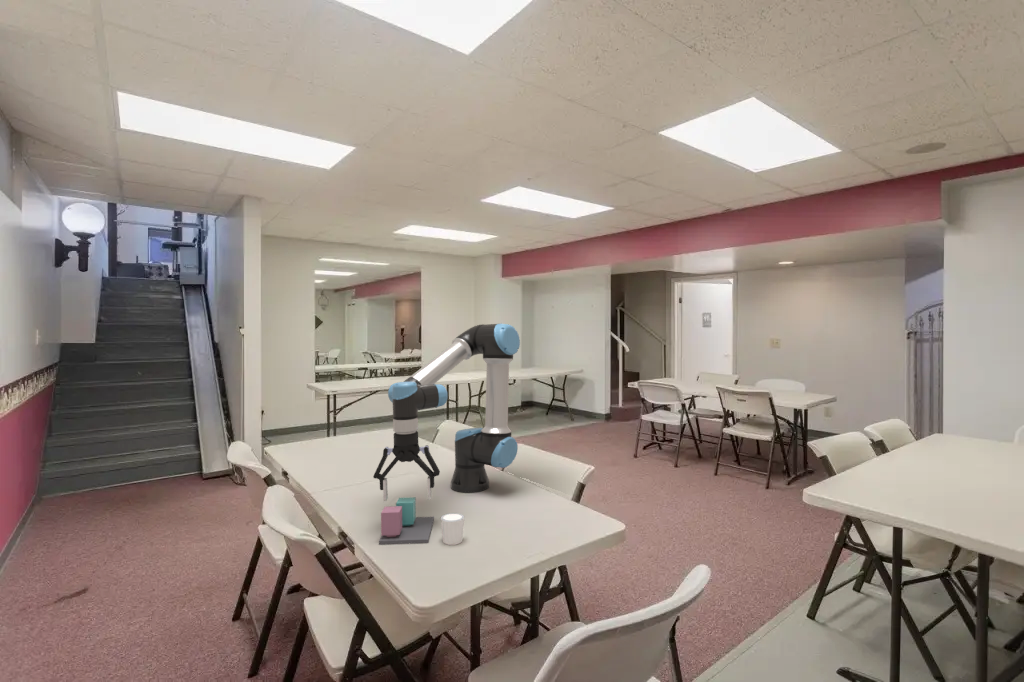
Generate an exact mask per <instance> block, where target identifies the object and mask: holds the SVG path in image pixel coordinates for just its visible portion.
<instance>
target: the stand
mask: <svg viewBox="0 0 1024 682" xmlns="http://www.w3.org/2000/svg"><path fill="white" fill-rule="evenodd" d="M380 520H381V521H380V525H381V526H380V527H381V528H380V529H381V530H380V532H381V533H380V537H379V539H378V545H382V546H383V545H405V544H409V543H410V544H428V543H429V541H430V537H431V534H432V529H433V525H434V522H435V516H416V518H415V521H414V524H407V525H402V506H396V505H395V506H389V505H388V506H384V508H383V509H382V511H381V512H380ZM410 544H409V545H410Z"/></svg>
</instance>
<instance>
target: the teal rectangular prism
mask: <svg viewBox="0 0 1024 682" xmlns="http://www.w3.org/2000/svg"><path fill="white" fill-rule="evenodd" d="M416 504H417V503H416V497H415V496H413V497H411V496H410V497H398V498H397V501H396V503H395V506H402V525H407V524H414V521H415V518H416V517H417V515H416V513H417V511H416V509H417V508H416Z"/></svg>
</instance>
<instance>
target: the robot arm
mask: <svg viewBox="0 0 1024 682" xmlns="http://www.w3.org/2000/svg"><path fill="white" fill-rule="evenodd" d="M520 345H521V340H520V336H519V333H518V331H517V329H515V327H514V326H513V325H511V324H507V323H491V324H485V323H484V324H483V323H482V324H476V325H474V326H471V327H470V328H468V329H466V330H464V331H463V332H462V333H460V334H458V336H456V337H455V338H454V339H453V340H452V341H451V344H450V345H449V346H448V347H446V348H445V349H444V350H442V351H441V352H439V354H437V355H436V356H435V357H434V358H433V359H431V360H429V361H428V362H427V363H425V364H424V365H422V367H420V369H418V370H417V371H416V372H414V373H413V374H411V375H409V377H407V378H406V379H405V380H404V381H398V382H395V383H393V384H391V385H390V386H389V387H388V391H387V396H388V399H389V400H390V402H391V403H392V423H393V424H392V427H393V429H392V430H393V432H394V433H393V448H392V447H389V446H385V447H384V448H383V451H382V452H383V453H382V457H381V459H380V461H379V464H378V465H377V467H376V470H375V472H374V474H373V479H377V480H379V490H380V491H382V492H383V493H382V495H383V497H382V498H383V502H387V501H388V499H389V497H388V495H389V493H388V491H389V490H388V478H387V477H386V476H387V475H388V474H389V472H391V470H392V469H393V467H395V465H396V464H397V463H398V462H401V463H405V462H408V463H411V462H413V461H414V463H416V465H418V466H419V468H421V470H423V472H424V473H425V474H426V475H427V480H426V482H427V483H426V484H427V500H431V498H432V489H434V487H435V477H438V476H439V475H440V473H441V471H440V469H439V467H438V465H437V463H436V461H435V460H434V458H433V456H432V454H431V451H430V446H429V445H428V444H427V445H424V446H420V445H419V444H420V443H419V432H418V429H419V421H418V417H419V416H418V415H419V414H418V412H419V411H423V410H427V409H434V408H436V409H437V408H439V407H443V406H444V405H446V404H447V402H448V390H447V389H446V387H445V386H444V385H443V384H436V383H437V382H439V381H440V380H441V379H443V378H444V377H445V376H446V375H447V374H448V373H449V372H451V371H452V370H453V369H454V368H456V367H457V366H458V365H459V364H461V363H462V361H464V360H469V359H470V358H472V357H473V356H476V355H482V359H483V361H484V362H485V363H486V377H485V378H486V380H485V383H486V384H485V416H484V417H485V421H484V422H485V423H484V427H472V428H464V429H459V430H457V431H456V433H455V434H454V435H455V437H454V457H455V458H454V461H455V462H454V463H455V464H454V465H455V468H454V471H453V475H452V477H451V481H450V488H451V490H452V491H455V492H458V493H459V492H460V493H477V492H482V491H485V490H487V489H488V488H489V487H490V479H489V477H488V474H487V471H486V468H485V465H486V466H491V467H494V468H503V469H504V468H507V467H509V466H510V465H511V464H513V461H515V459H516V457H517V454H518V448H519V446H518V442H517V440H516V439H515V437H513V436H512V430H511V429H510V427H509V426H508V422H509V386H510V385H509V383H510V382H509V380H510V379H509V377H510V364H511V362H512V361H514V355H515V354H516V353H518V350H519V349H520V347H521V346H520ZM420 452H421V453H422V454H424V456H425V458H426V460H427V461H428V464H429V465H430V467H431V468H430V467H429V466H428V464H426V462H425V461H423V459H422V458H421V456H419V455H418V454H420ZM391 453H392V454H393V455H394V456H395V457H394V459H393V460H392V461H391V462H390V464H389V465H388V466H387V467H386V468H385V470H384V471H383V472H382V473H381V471H382V468H383V466H384V465H385V463H386V461H387V458H388V456H390V455H391Z"/></svg>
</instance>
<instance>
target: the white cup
mask: <svg viewBox="0 0 1024 682" xmlns="http://www.w3.org/2000/svg"><path fill="white" fill-rule="evenodd" d="M440 523H441V524H440V525H441V534H442V535H441V536H442V543H443V544H444V545H449V546H454V545H459V544H461V543H462V542H463V539H464V538H463V537H464V528H465V527H464V525H465V515H464V514H462V513H457V512H451V513H450V512H449V513H446V514H442V515H441V517H440Z"/></svg>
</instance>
